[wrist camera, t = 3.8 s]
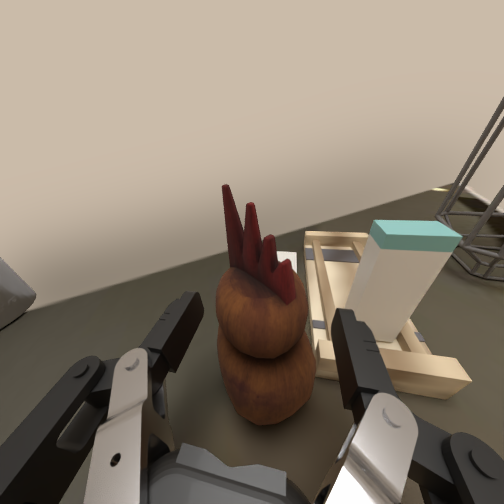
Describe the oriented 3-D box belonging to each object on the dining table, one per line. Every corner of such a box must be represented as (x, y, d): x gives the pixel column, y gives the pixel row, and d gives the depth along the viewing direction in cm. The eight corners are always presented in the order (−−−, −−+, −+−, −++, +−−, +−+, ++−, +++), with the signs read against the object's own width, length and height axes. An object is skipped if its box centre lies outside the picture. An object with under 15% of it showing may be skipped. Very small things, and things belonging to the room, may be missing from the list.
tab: (346, 336, 16) (386, 234, 10) (341, 316, 17) (373, 219, 12) (392, 342, 15) (462, 236, 10) (383, 321, 17) (438, 221, 11)
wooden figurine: (220, 355, 16) (169, 184, 8) (277, 332, 18) (282, 169, 10) (243, 460, 11) (163, 268, 3) (321, 415, 13) (416, 207, 4)
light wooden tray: (314, 376, 15) (320, 357, 13) (303, 246, 31) (305, 231, 29) (446, 399, 13) (472, 381, 11) (361, 249, 29) (366, 233, 28)
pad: (248, 279, 25) (248, 275, 25) (256, 253, 30) (256, 250, 30) (296, 283, 24) (296, 279, 23) (295, 255, 29) (296, 252, 29)
